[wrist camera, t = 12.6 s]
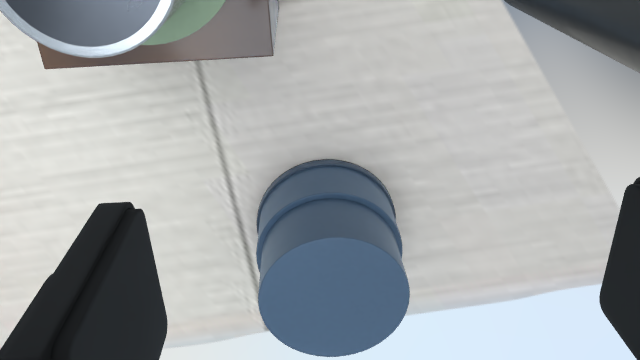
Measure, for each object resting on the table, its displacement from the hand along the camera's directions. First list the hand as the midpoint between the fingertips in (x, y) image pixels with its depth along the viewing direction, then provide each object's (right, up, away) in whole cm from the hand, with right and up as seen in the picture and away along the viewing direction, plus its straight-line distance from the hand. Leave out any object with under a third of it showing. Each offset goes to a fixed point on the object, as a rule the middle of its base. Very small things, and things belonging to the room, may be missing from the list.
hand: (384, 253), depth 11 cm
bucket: (-1, -2, +34) cm, 35 cm away
